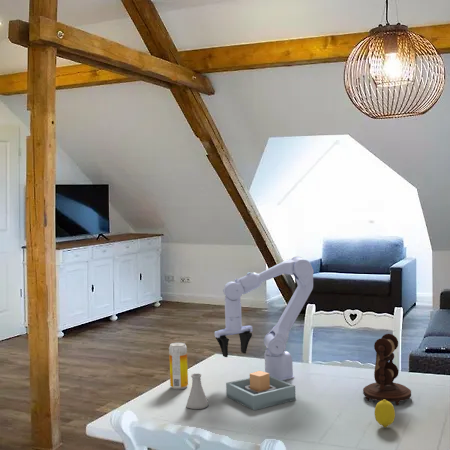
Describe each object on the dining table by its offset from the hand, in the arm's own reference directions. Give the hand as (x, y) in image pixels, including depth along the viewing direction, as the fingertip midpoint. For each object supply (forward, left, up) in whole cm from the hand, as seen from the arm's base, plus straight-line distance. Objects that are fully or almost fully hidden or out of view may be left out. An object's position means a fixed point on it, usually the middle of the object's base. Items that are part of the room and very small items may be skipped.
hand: (234, 354), depth 228 cm
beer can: (+19, -6, -10) cm, 22 cm away
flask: (+23, +14, -10) cm, 29 cm away
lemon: (-11, +61, -10) cm, 63 cm away
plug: (+3, +20, -8) cm, 22 cm away
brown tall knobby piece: (-29, +44, -10) cm, 54 cm away
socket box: (+3, +20, -9) cm, 22 cm away
